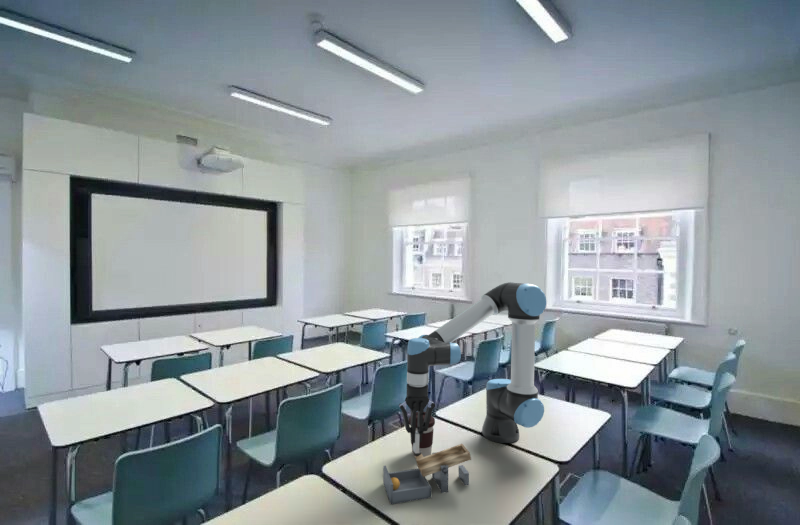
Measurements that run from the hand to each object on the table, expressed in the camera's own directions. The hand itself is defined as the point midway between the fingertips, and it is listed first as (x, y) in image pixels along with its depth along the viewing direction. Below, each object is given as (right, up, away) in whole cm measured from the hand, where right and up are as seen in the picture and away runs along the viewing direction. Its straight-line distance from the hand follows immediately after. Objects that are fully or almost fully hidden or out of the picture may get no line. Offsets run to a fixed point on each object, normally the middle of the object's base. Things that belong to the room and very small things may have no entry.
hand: (416, 451), depth 131 cm
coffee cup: (+3, -7, +12) cm, 14 cm away
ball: (-7, -5, -11) cm, 14 cm away
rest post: (+16, -7, -5) cm, 18 cm away
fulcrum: (+8, -7, -7) cm, 13 cm away
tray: (-3, -7, -11) cm, 13 cm away
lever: (+8, 0, -3) cm, 9 cm away
